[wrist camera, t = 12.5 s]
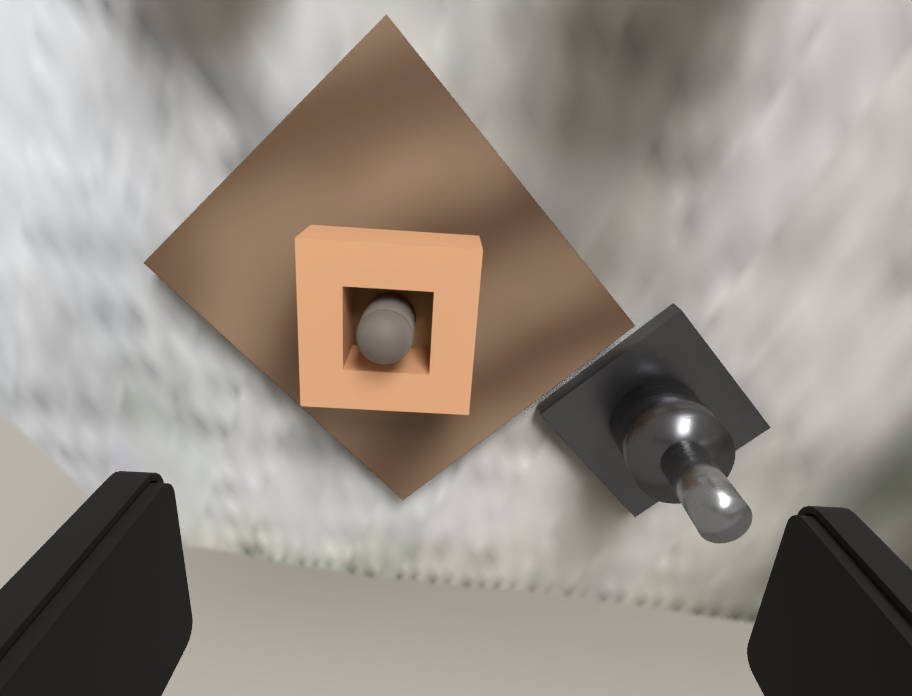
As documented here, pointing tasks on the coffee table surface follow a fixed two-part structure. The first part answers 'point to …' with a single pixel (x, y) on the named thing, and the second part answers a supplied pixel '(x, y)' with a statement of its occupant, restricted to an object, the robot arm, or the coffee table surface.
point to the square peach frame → (386, 267)
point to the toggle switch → (392, 208)
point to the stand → (662, 424)
